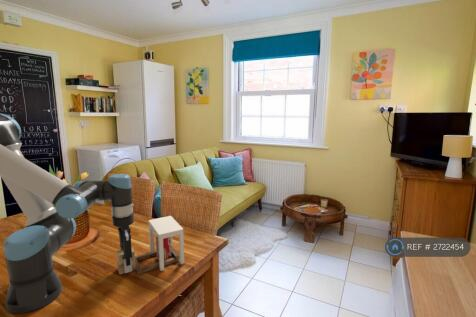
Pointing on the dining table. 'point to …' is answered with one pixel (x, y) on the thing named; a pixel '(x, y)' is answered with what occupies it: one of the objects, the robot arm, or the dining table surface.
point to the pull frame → (136, 258)
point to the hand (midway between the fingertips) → (127, 268)
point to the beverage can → (165, 248)
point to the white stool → (166, 236)
